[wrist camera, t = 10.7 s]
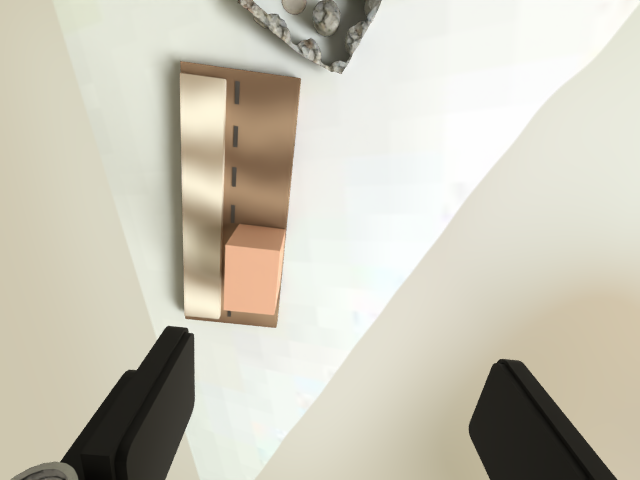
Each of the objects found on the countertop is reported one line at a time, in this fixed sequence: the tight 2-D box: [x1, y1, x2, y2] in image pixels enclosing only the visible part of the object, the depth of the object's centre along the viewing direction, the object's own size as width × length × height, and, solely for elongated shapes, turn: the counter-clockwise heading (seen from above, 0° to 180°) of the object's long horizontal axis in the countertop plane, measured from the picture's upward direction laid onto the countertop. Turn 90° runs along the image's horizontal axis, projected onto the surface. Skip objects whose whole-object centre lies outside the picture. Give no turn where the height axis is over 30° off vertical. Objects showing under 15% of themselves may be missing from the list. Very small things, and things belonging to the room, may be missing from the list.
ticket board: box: [180, 61, 301, 328], centre depth 37 cm, size 28×11×2 cm, turn 173°
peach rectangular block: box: [224, 224, 286, 315], centre depth 35 cm, size 7×5×6 cm
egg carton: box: [238, 0, 382, 74], centre depth 29 cm, size 11×8×4 cm
